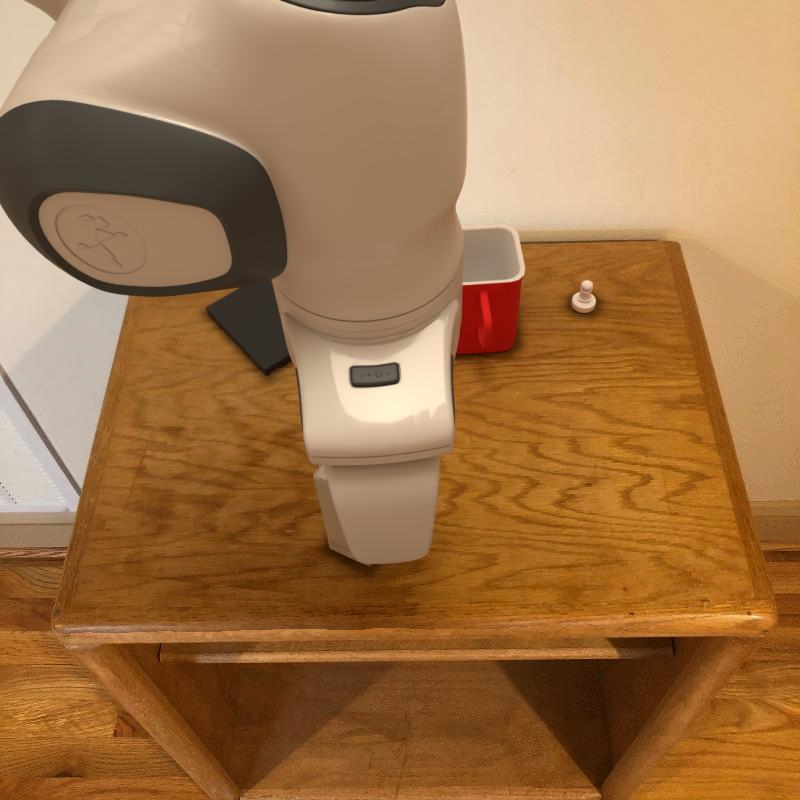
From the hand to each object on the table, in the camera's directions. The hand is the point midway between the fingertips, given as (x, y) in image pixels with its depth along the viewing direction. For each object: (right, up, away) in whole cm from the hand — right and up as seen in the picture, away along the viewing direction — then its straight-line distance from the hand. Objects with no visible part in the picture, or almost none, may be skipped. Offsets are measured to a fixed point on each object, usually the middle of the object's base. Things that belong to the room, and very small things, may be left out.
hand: (386, 450), depth 49 cm
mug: (+9, +10, +35) cm, 38 cm away
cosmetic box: (-2, -9, +23) cm, 24 cm away
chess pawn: (+21, +14, +38) cm, 45 cm away
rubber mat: (-12, +13, +39) cm, 42 cm away
